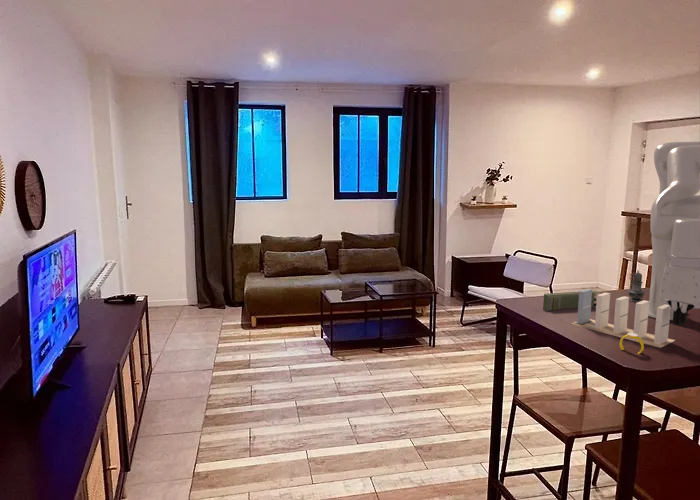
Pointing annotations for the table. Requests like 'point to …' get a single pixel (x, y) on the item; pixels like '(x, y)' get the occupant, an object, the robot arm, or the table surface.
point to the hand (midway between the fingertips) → (679, 324)
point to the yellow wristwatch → (632, 335)
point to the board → (609, 330)
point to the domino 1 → (584, 306)
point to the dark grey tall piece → (636, 288)
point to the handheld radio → (563, 300)
